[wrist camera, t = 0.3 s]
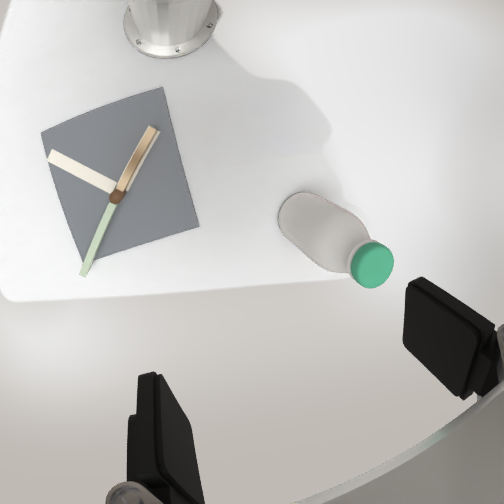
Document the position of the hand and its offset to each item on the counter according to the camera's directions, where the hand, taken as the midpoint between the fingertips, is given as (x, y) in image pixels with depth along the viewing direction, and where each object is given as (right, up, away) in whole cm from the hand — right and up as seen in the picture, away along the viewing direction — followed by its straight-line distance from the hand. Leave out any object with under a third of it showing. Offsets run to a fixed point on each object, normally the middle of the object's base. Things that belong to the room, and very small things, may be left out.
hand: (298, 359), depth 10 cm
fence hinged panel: (-22, +6, +30) cm, 38 cm away
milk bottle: (+6, +9, +37) cm, 39 cm away
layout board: (-20, +14, +28) cm, 37 cm away
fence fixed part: (-17, +16, +28) cm, 36 cm away
